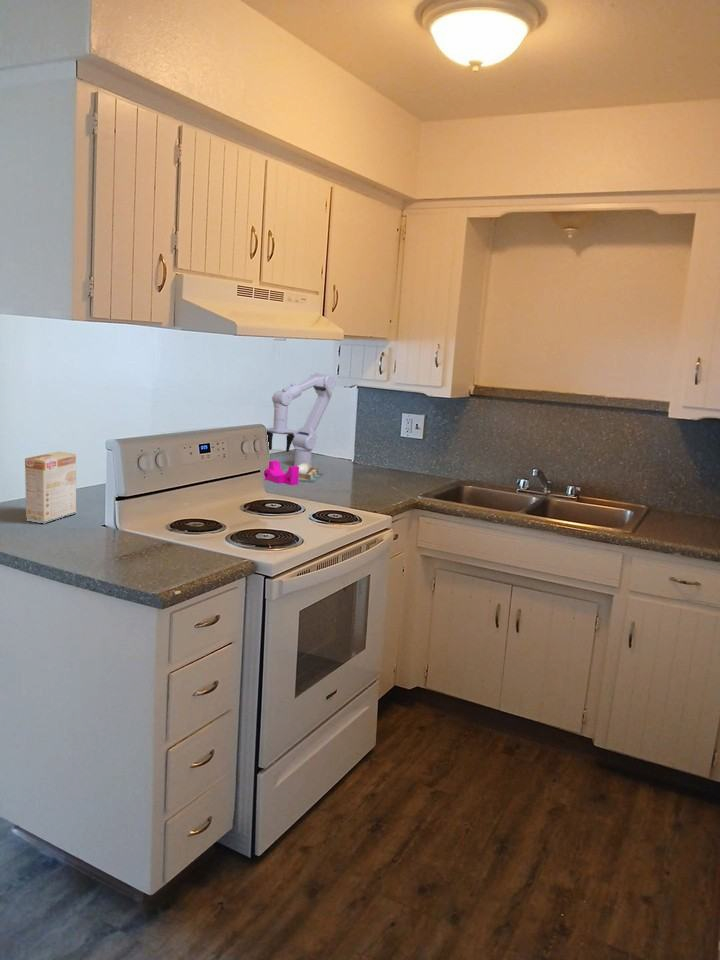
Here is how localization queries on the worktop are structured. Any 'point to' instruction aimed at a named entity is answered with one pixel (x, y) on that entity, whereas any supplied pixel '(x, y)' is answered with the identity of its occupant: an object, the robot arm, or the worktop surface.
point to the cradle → (309, 475)
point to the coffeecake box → (50, 485)
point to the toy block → (281, 474)
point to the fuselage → (304, 467)
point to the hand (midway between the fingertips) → (278, 450)
